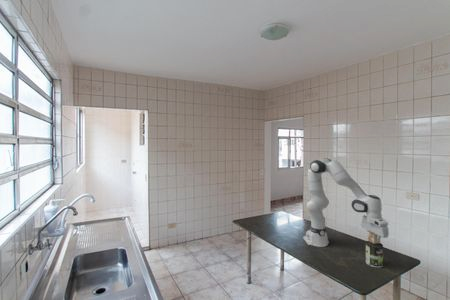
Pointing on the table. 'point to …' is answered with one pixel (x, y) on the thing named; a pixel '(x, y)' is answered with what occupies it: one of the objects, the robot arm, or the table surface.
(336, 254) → the table surface
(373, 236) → the beech block
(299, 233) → the table surface
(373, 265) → the coffee can
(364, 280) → the table surface
